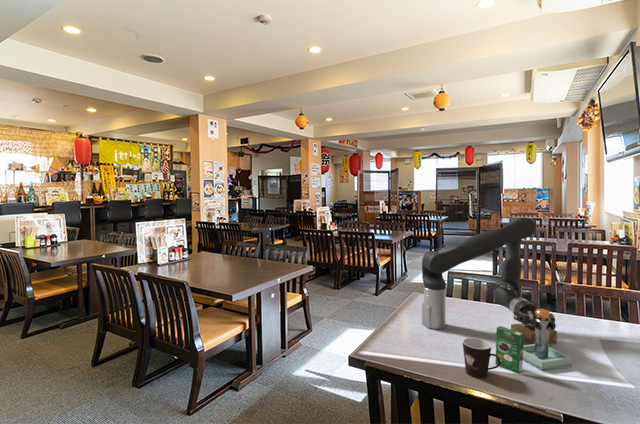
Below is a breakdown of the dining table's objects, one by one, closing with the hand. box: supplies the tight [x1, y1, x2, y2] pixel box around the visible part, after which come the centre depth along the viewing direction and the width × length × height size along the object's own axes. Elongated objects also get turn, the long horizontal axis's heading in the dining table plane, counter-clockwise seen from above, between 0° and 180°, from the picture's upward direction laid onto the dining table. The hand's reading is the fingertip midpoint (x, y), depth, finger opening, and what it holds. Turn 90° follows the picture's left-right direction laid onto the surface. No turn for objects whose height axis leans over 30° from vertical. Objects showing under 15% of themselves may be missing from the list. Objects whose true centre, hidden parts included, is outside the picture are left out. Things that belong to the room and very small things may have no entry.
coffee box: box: [495, 325, 524, 374], centre depth 114 cm, size 8×3×13 cm, turn 35°
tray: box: [523, 344, 573, 372], centre depth 119 cm, size 12×12×3 cm
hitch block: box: [510, 322, 558, 346], centre depth 136 cm, size 12×10×5 cm
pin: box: [535, 308, 550, 358], centre depth 119 cm, size 4×4×16 cm
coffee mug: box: [462, 337, 501, 379], centre depth 109 cm, size 12×9×10 cm
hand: (546, 326), depth 116 cm, fingers closed on pin, 4 cm apart
